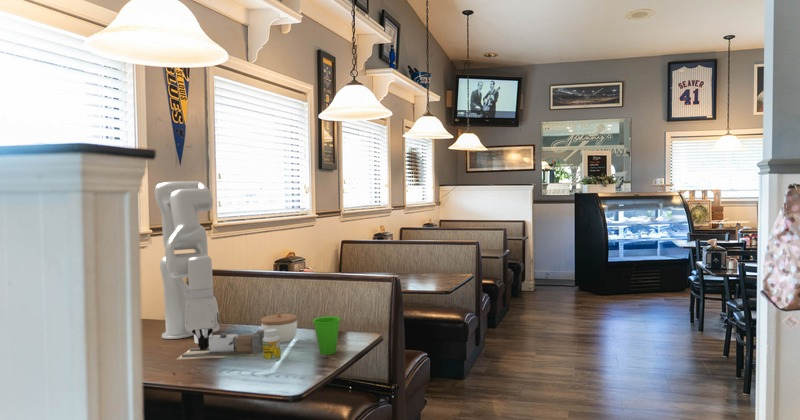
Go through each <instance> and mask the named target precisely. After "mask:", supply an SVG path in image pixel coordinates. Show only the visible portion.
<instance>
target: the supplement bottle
mask: <svg viewBox="0 0 800 420" xmlns="http://www.w3.org/2000/svg"><path fill="white" fill-rule="evenodd" d="M264 335H265V337H264V338H263V350H262V354H263V359H266V360H267V359H268V360H272V359H276V362H279V361H280V360H281V358H282V353H281V343H280V337H279V336H278V335H277V329H267V330H265V331H264Z"/></svg>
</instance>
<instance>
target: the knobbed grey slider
mask: <svg viewBox="0 0 800 420" xmlns="http://www.w3.org/2000/svg"><path fill="white" fill-rule="evenodd" d="M238 336H239V334H238V333H236V334H235V333H233V334H230V333H229V334H227V333H224V332H222V333H220V334H212V337H211V338H209V346H208V348H209V353H222V352H236V338H237V337H238Z"/></svg>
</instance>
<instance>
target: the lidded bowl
mask: <svg viewBox="0 0 800 420" xmlns="http://www.w3.org/2000/svg"><path fill="white" fill-rule="evenodd" d="M260 325H261V330H264V331H265V330H267V329H277V335H278V336H279V337H280V344H283V343H287V342H290V341H292V340H293V339H294V337H295V336H296V334H297V330H298V316H297V315H296V314H292V313H281V311H277V312H276V314H271V315H267V316H266V315H265V316H263V317H262V318H260ZM264 337H265V335H264Z"/></svg>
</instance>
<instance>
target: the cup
mask: <svg viewBox="0 0 800 420" xmlns="http://www.w3.org/2000/svg"><path fill="white" fill-rule="evenodd" d="M340 321H341V317H339V316H333V315H332V316H322V317H321V316H320V317H316V318H314V319H312V323H313V325H314V329H315V333H316V335H315V336H316V339H317V344H318V350H319V353H320V354H321V355H324V356H328V355H333V354H335V353H336V352H337V345H338V336H339V327H340Z"/></svg>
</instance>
